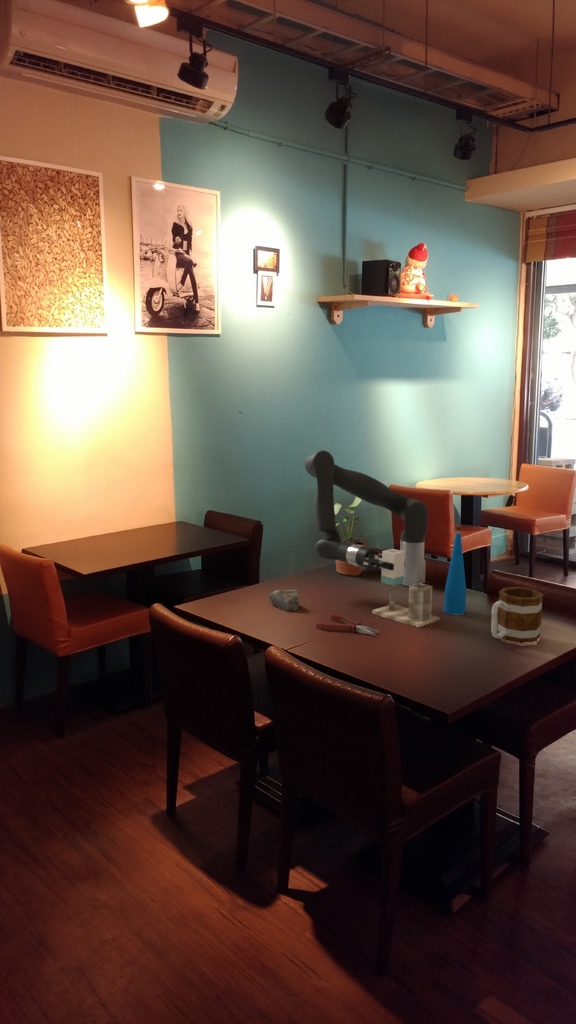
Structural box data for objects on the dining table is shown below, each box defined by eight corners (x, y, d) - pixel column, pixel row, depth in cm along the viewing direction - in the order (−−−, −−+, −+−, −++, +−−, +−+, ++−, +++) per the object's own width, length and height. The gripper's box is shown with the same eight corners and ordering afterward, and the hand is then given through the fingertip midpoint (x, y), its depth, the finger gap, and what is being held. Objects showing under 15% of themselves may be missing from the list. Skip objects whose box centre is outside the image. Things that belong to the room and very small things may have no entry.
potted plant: (340, 565, 334) (342, 484, 328) (372, 571, 325) (374, 488, 319) (321, 573, 322) (322, 489, 315) (353, 579, 313) (355, 493, 306)
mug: (514, 628, 255) (517, 584, 252) (549, 640, 244) (553, 594, 242) (473, 640, 244) (476, 594, 241) (508, 653, 233) (511, 605, 230)
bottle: (454, 616, 267) (459, 529, 262) (439, 610, 273) (443, 525, 268) (469, 613, 271) (474, 527, 266) (454, 607, 277) (459, 523, 272)
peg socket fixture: (372, 613, 270) (373, 579, 268) (393, 607, 277) (394, 573, 275) (418, 627, 255) (420, 591, 253) (439, 620, 263) (440, 585, 261)
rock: (265, 603, 281) (266, 585, 279) (284, 599, 286) (284, 581, 285) (289, 612, 271) (290, 594, 269) (308, 608, 276) (309, 590, 275)
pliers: (368, 641, 243) (369, 633, 243) (314, 629, 255) (314, 621, 254) (386, 632, 253) (386, 624, 252) (333, 620, 264) (333, 613, 264)
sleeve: (381, 582, 269) (382, 551, 267) (391, 579, 272) (392, 548, 270) (393, 585, 265) (394, 554, 263) (403, 582, 269) (404, 551, 266)
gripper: (348, 548, 272) (385, 558, 260) (375, 543, 282) (412, 551, 270) (347, 569, 274) (384, 580, 262) (374, 563, 283) (411, 572, 271)
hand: (398, 565), depth 266 cm, fingers closed on sleeve, 5 cm apart
